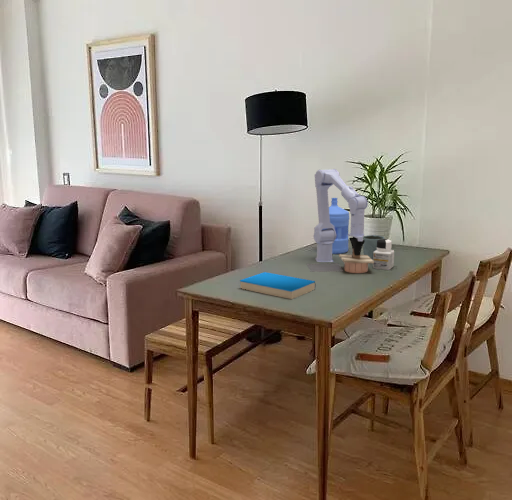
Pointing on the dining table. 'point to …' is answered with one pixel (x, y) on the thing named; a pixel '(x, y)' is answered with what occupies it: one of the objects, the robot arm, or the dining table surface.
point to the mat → (324, 267)
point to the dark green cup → (370, 244)
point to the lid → (355, 258)
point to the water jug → (339, 227)
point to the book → (278, 285)
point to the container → (383, 255)
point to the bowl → (356, 267)
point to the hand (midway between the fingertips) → (356, 254)
